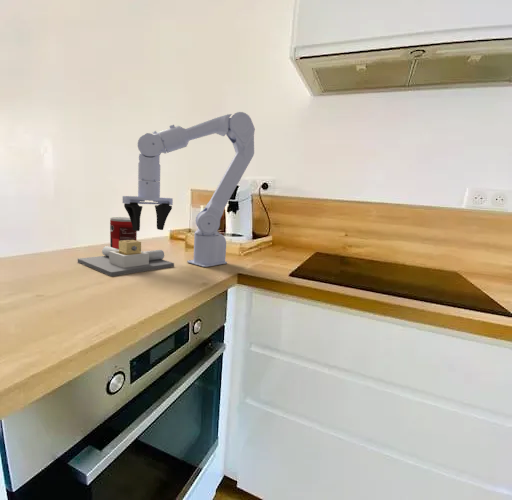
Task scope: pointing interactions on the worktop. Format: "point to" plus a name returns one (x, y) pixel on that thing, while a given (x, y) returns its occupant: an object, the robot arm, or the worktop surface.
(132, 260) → the shaft board
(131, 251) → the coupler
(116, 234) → the canned food
